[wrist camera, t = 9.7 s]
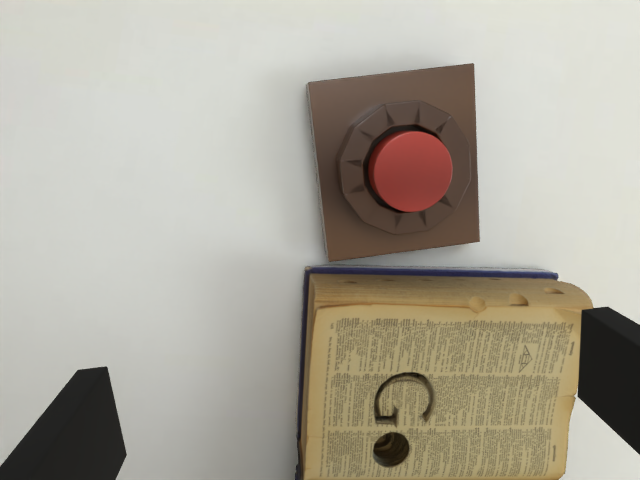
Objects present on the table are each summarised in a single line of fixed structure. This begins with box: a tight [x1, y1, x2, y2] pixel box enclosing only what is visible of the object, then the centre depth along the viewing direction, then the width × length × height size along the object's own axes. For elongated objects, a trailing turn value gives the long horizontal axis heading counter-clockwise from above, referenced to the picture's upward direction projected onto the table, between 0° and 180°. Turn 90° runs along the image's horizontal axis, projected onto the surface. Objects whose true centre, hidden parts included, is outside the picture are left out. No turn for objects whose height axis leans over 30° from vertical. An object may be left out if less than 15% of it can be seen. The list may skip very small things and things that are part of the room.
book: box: [295, 265, 593, 480], centre depth 31 cm, size 25×17×6 cm
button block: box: [306, 63, 480, 262], centre depth 27 cm, size 10×9×4 cm
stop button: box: [368, 130, 453, 212], centre depth 25 cm, size 4×4×2 cm
